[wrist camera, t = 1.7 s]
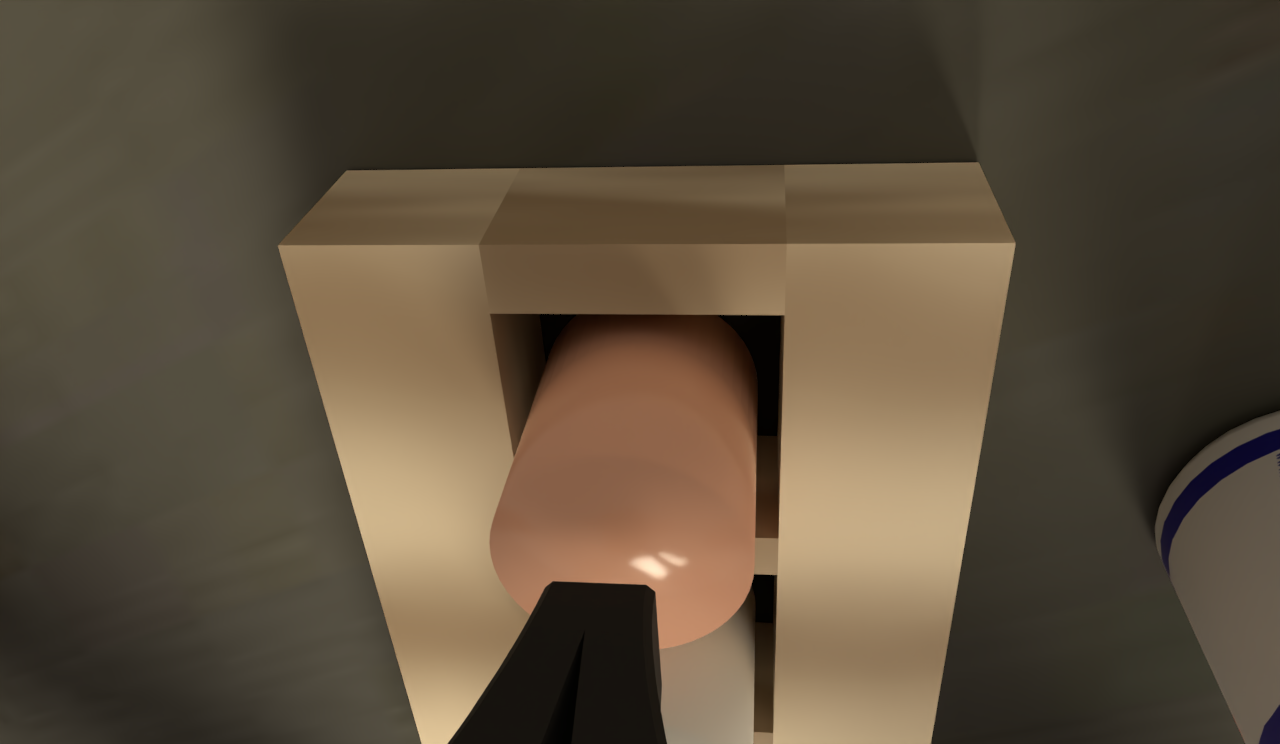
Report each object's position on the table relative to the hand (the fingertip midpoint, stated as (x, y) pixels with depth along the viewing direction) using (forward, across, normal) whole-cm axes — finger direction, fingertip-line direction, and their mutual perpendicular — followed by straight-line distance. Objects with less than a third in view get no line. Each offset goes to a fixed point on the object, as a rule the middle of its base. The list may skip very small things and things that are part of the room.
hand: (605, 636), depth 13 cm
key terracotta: (+6, 0, 0) cm, 6 cm away
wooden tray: (+7, 0, +6) cm, 9 cm away
